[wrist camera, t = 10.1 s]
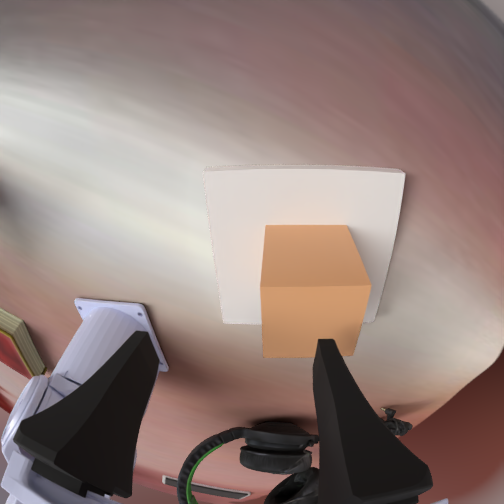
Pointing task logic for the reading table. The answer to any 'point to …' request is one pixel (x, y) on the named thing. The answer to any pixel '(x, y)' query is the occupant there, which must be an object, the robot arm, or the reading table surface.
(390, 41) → the reading table surface
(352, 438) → the robot arm
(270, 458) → the headset
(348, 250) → the tan wooden cube
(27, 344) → the hardcover book
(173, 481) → the smartphone
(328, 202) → the post plate
